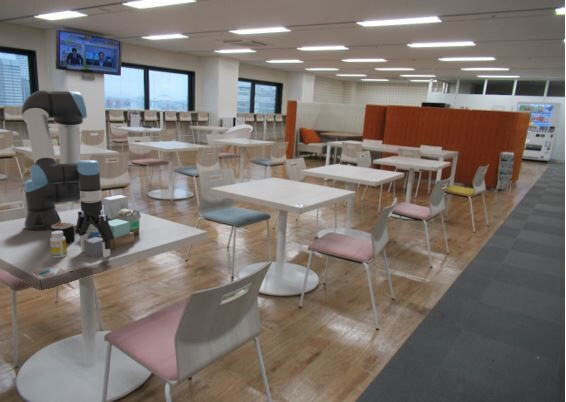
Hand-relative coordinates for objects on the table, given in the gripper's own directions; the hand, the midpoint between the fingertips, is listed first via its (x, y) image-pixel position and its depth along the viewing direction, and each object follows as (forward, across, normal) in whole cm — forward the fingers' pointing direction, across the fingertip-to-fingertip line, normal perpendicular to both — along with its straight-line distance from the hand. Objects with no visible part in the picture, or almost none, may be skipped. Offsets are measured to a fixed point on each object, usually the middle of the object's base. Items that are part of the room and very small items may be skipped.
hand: (95, 253), depth 162 cm
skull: (0, -22, +35) cm, 41 cm away
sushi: (0, -24, +3) cm, 24 cm away
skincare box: (0, -37, +42) cm, 56 cm away
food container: (0, -6, +25) cm, 26 cm away
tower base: (+1, -2, +12) cm, 12 cm away
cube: (0, 0, 0) cm, 0 cm away
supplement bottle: (0, -10, -8) cm, 13 cm away
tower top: (-5, -2, +12) cm, 13 cm away
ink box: (0, -20, +15) cm, 25 cm away
